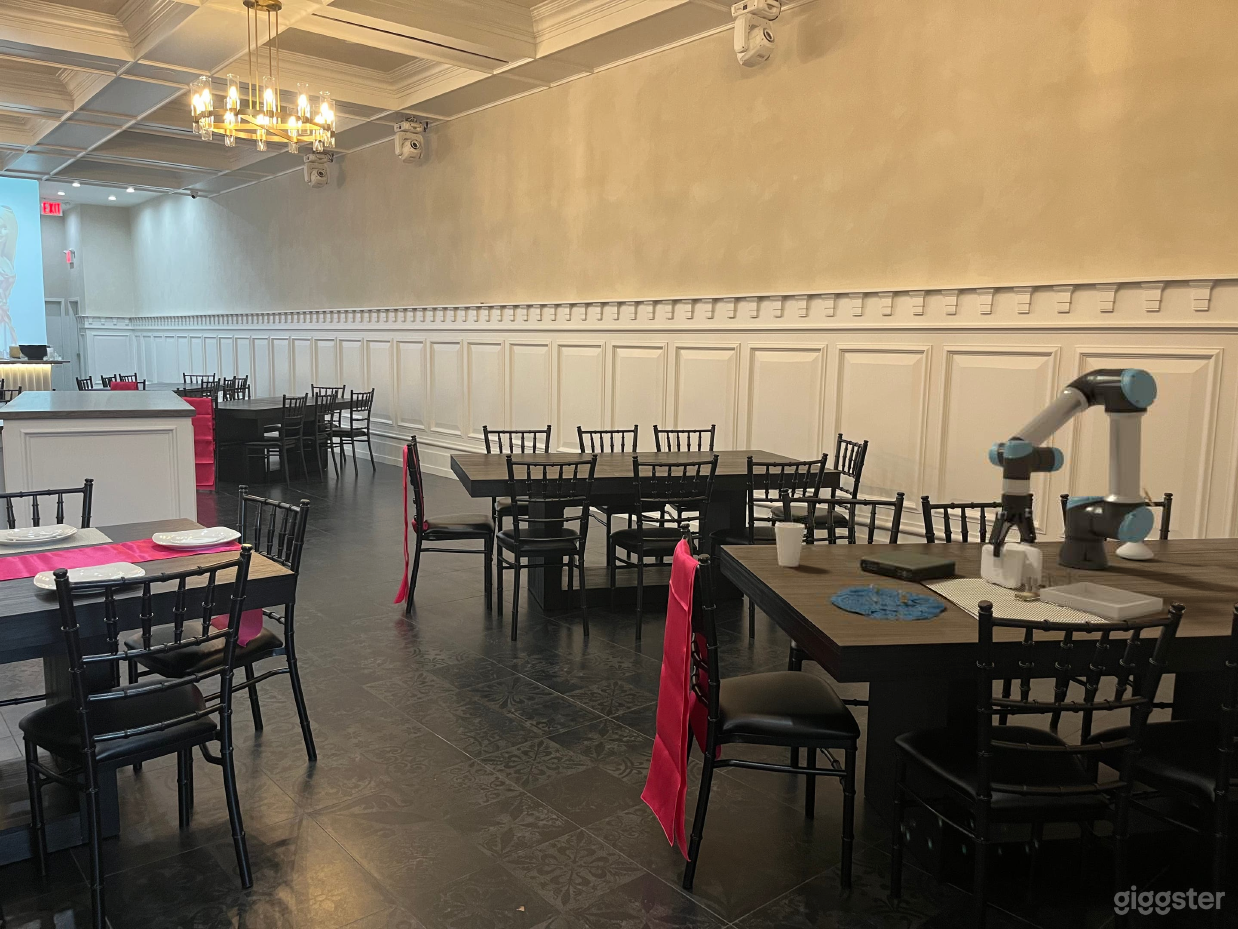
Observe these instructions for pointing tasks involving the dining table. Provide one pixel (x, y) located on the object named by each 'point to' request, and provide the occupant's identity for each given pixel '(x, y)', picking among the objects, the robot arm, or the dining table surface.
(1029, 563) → the cable organizer
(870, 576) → the dining table surface
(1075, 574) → the cable clip rail
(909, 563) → the network switch
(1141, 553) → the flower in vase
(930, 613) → the blue wave plaque
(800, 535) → the foam cup
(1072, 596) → the holder tray
